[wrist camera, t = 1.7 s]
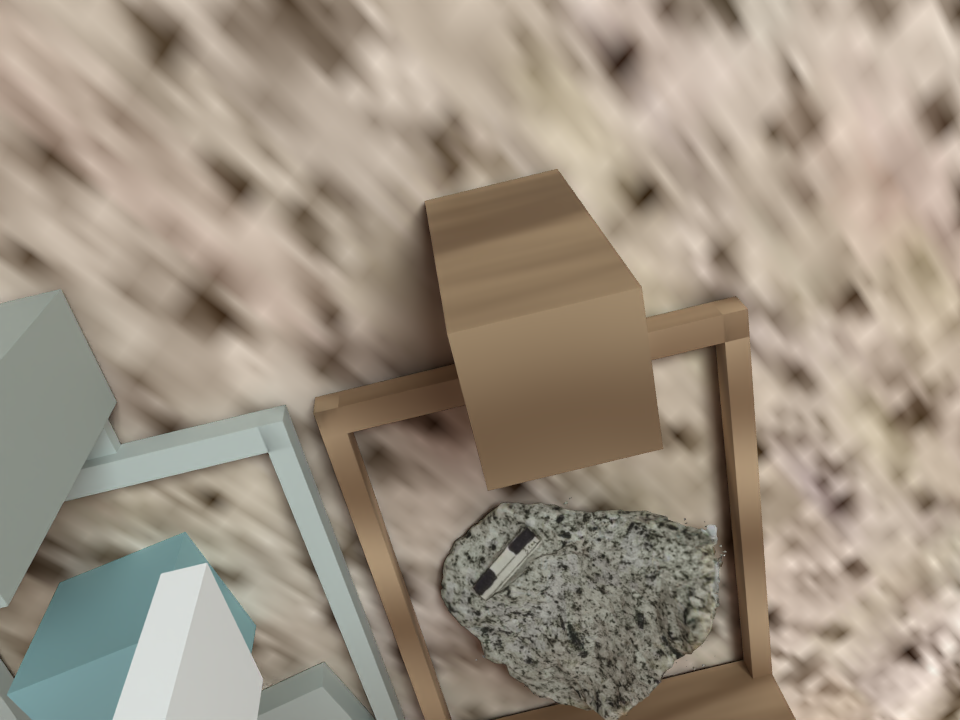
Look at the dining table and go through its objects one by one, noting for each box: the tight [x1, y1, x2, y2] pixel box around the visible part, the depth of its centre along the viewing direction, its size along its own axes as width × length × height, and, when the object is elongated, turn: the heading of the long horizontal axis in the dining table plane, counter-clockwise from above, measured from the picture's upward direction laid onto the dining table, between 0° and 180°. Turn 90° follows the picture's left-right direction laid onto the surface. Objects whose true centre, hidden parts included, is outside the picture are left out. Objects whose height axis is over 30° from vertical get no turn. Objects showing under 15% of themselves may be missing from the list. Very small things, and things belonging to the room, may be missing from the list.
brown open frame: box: [313, 169, 796, 720], centre depth 27 cm, size 24×14×9 cm, turn 12°
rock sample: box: [441, 497, 726, 720], centre depth 30 cm, size 10×8×9 cm
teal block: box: [7, 532, 256, 720], centre depth 29 cm, size 5×5×5 cm
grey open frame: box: [0, 289, 405, 720], centre depth 27 cm, size 24×14×9 cm, turn 12°
